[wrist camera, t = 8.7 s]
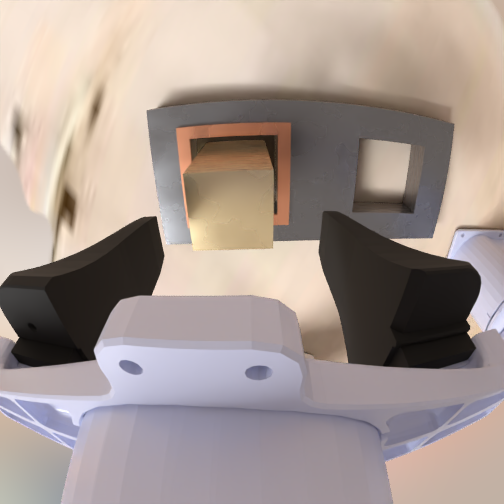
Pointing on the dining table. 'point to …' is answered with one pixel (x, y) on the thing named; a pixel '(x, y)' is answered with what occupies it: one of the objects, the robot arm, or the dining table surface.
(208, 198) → the brass peg
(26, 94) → the dining table surface
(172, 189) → the socket rail
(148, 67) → the dining table surface
